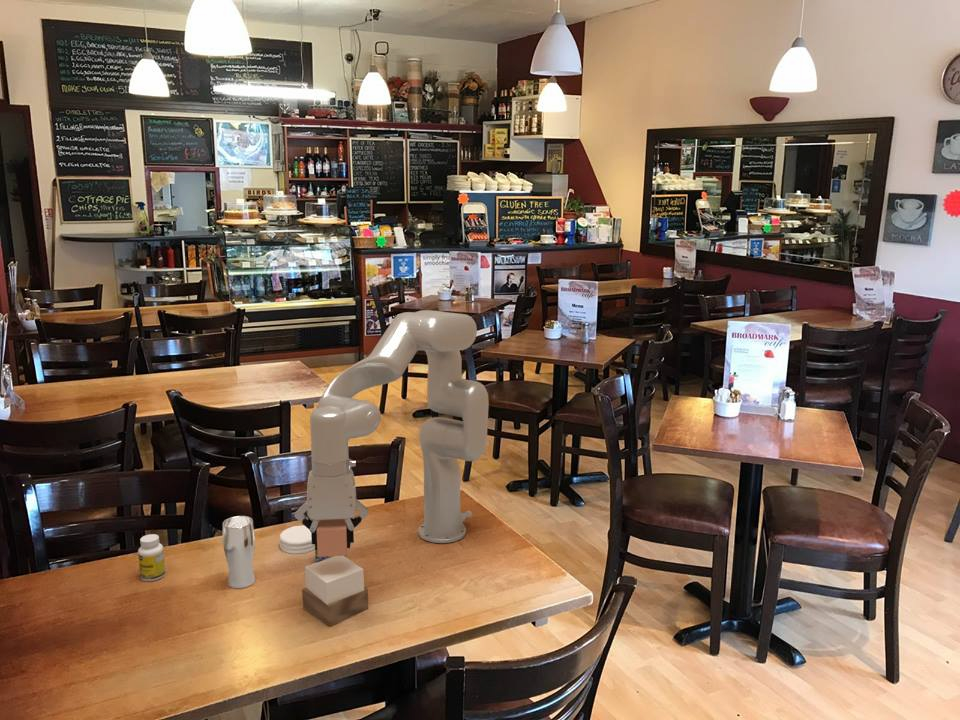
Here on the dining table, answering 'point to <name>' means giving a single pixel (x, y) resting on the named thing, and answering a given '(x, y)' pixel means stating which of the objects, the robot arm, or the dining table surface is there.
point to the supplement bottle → (151, 558)
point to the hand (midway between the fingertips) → (333, 545)
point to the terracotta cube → (332, 538)
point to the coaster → (296, 540)
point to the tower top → (334, 579)
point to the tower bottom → (335, 607)
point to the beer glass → (239, 550)
